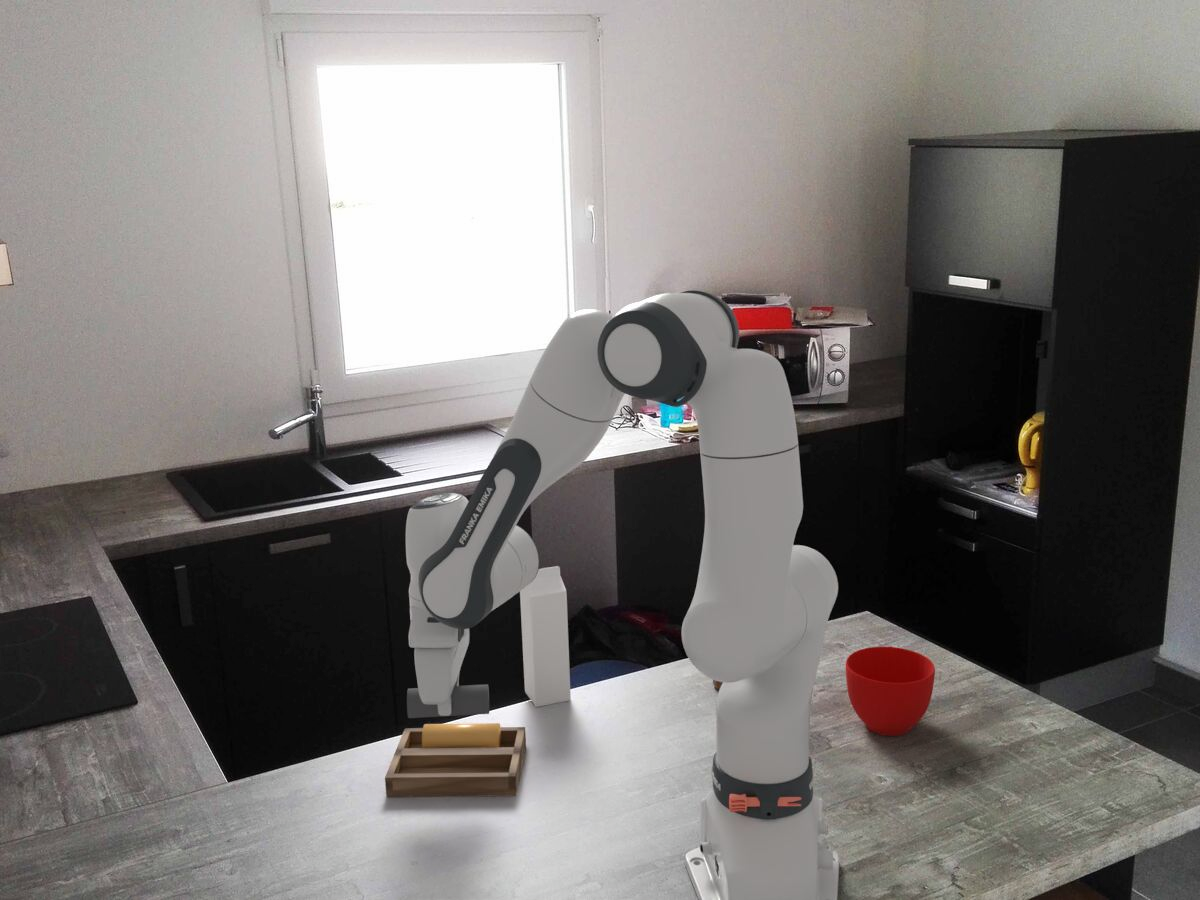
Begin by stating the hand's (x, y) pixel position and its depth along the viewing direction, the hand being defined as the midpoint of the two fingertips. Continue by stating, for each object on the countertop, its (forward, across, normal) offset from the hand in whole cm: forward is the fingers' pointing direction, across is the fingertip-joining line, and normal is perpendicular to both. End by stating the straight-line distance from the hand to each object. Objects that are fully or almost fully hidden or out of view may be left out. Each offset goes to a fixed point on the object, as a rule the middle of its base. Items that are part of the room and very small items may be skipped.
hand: (448, 703), depth 161 cm
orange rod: (+11, -8, 0) cm, 14 cm away
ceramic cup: (+12, -17, +64) cm, 68 cm away
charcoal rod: (+2, 0, 0) cm, 2 cm away
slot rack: (+12, -3, 0) cm, 13 cm away
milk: (+12, -26, +11) cm, 31 cm away
